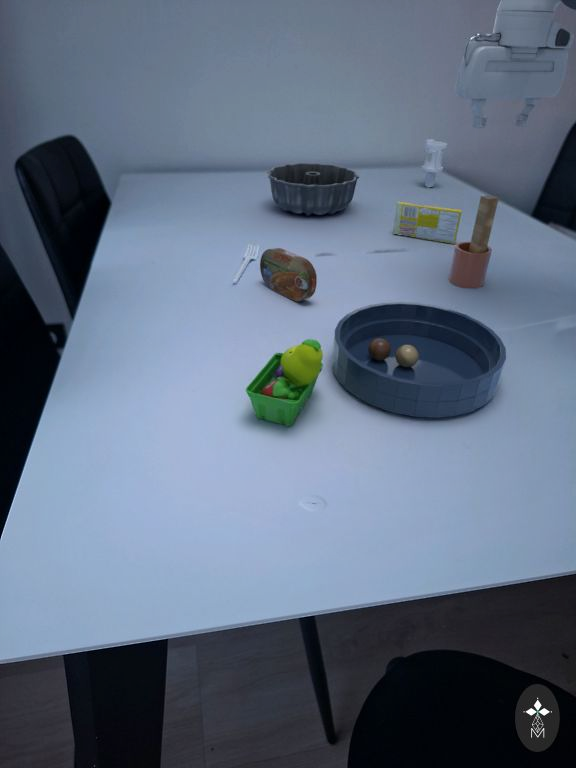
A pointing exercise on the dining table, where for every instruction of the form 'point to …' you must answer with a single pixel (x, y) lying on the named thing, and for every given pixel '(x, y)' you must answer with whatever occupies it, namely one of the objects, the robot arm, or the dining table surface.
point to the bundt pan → (312, 187)
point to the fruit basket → (286, 383)
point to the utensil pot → (469, 266)
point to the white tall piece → (433, 160)
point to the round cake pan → (419, 359)
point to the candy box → (427, 222)
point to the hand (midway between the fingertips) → (499, 126)
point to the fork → (246, 260)
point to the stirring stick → (483, 224)
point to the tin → (288, 274)
